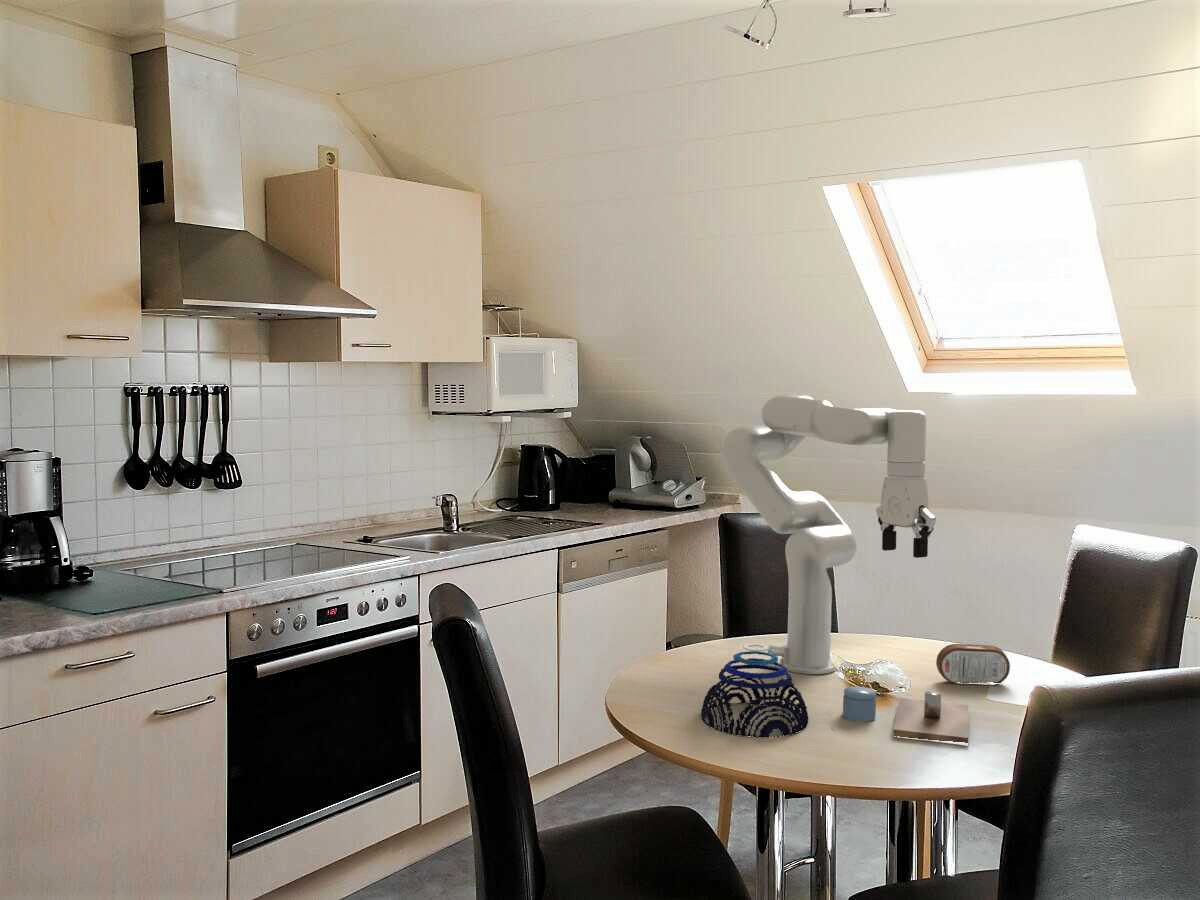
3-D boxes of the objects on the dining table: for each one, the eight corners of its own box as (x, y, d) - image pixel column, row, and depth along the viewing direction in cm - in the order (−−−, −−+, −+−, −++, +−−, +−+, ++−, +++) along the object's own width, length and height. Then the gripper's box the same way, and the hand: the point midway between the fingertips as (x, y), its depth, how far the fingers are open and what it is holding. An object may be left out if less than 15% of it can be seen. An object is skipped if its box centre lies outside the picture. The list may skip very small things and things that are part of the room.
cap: (841, 719, 211) (842, 693, 210) (845, 710, 216) (845, 685, 216) (873, 722, 209) (874, 697, 208) (876, 713, 214) (877, 688, 214)
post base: (893, 737, 201) (893, 729, 201) (899, 705, 220) (899, 697, 220) (968, 746, 197) (968, 737, 197) (967, 712, 216) (968, 705, 216)
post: (923, 718, 207) (924, 695, 207) (924, 713, 210) (925, 690, 210) (940, 720, 206) (941, 696, 206) (940, 715, 209) (941, 692, 209)
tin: (1006, 683, 236) (1008, 644, 235) (1010, 687, 233) (1012, 648, 232) (935, 680, 238) (936, 642, 237) (938, 684, 234) (939, 646, 234)
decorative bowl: (724, 742, 198) (726, 664, 196) (686, 708, 217) (688, 636, 216) (825, 733, 203) (827, 657, 202) (779, 701, 222) (781, 631, 221)
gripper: (864, 467, 230) (863, 548, 232) (919, 474, 215) (918, 561, 216) (893, 466, 234) (891, 546, 235) (949, 473, 218) (948, 558, 219)
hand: (904, 553), depth 225 cm, fingers open, 9 cm apart
